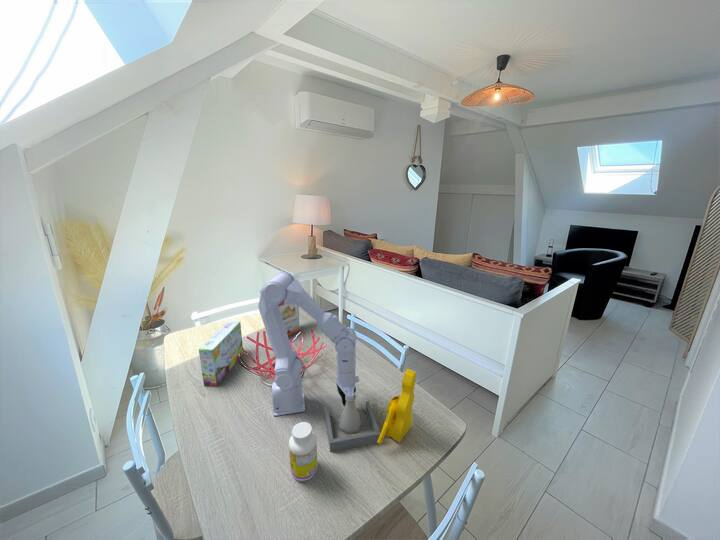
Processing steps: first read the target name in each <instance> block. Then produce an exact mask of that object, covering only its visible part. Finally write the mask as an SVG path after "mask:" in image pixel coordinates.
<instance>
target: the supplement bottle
mask: <svg viewBox="0 0 720 540" xmlns="http://www.w3.org/2000/svg"><path fill="white" fill-rule="evenodd" d="M291 430H292V431H291V436H290V438H289V441H288V450H289V451H288V452H289V462H290V463H289V464H290V473H291V475H292V477H293V478H294V479H295V480H296V481H298V482H305V481H308V480H310V479H312V477H314V475H316V472H317V471H318V446H317V444H318V443H317V442H318V441H317V435H316V434H315V432H314V431H313V427H312V425H311V424H310V423H309V422H306V421H300V422H298V423H296V424H295V425H294V426H293V428H292V429H291Z"/></svg>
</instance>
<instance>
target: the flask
mask: <svg viewBox="0 0 720 540" xmlns="http://www.w3.org/2000/svg"><path fill="white" fill-rule="evenodd" d="M356 399H357V396H356V394H355V393H354V399H353V400H347V397H346V396H345V400H346V404H345V406H344V408H343V411H342V413H341V415H340V417H339V420H338V429H339V430H340V431H341V432H344V433H345V434H346V433H347V434H353V433H354V434H355V433H358V432H359V430H360V429H361V428H362V427H363V423H362V418H361V415H360V413H359V411H358V409H357V406H356ZM347 401H348V402H347Z"/></svg>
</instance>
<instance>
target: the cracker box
mask: <svg viewBox="0 0 720 540" xmlns="http://www.w3.org/2000/svg"><path fill="white" fill-rule="evenodd" d="M284 302H285V300H283V301H281V302H280V304H279V306H278V307H279V310H280V313H281V316H282V319H283V322H284V325H285V328H286V331H287V335H288V337H290V336H292V335H294V334H296V333H298V332H300V307H299V306H298V305H297V304H284Z"/></svg>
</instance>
